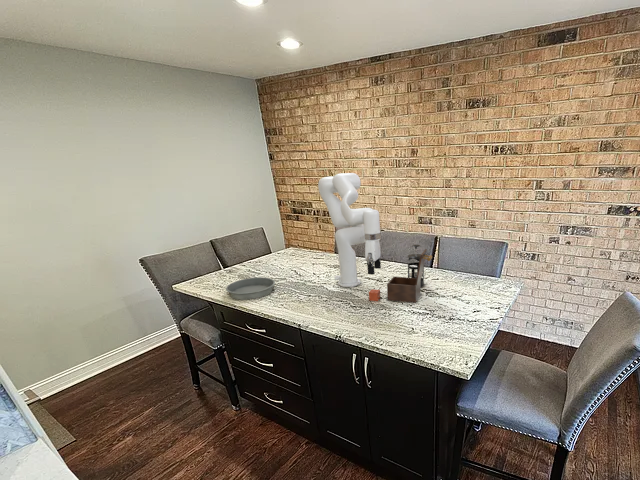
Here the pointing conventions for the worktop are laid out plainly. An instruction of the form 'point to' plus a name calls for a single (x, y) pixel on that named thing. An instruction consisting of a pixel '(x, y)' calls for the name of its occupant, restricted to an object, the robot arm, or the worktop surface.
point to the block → (374, 295)
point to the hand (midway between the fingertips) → (374, 271)
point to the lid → (422, 265)
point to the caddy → (403, 289)
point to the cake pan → (250, 288)
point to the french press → (414, 274)
